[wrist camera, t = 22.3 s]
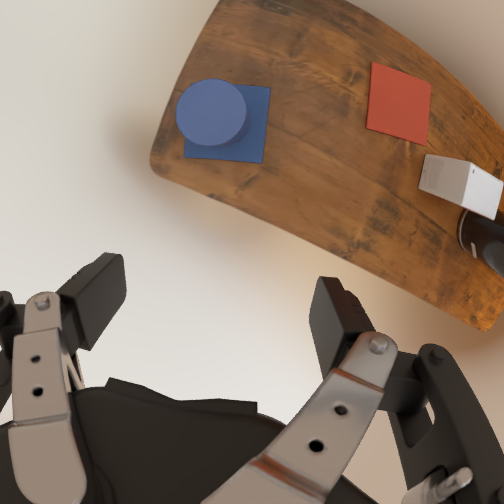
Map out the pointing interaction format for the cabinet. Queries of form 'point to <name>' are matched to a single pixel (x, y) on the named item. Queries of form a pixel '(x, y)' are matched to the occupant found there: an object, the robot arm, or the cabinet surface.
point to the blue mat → (253, 140)
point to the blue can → (212, 113)
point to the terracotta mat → (398, 104)
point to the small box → (461, 184)
